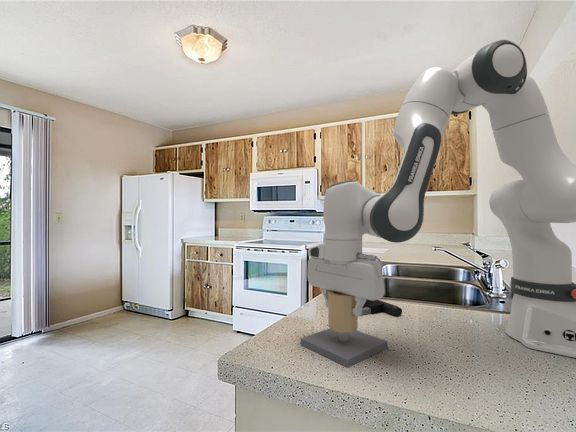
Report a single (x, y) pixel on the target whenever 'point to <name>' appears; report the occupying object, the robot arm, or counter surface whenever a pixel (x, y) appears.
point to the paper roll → (341, 312)
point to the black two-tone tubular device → (380, 308)
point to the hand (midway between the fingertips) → (342, 311)
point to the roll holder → (344, 345)
